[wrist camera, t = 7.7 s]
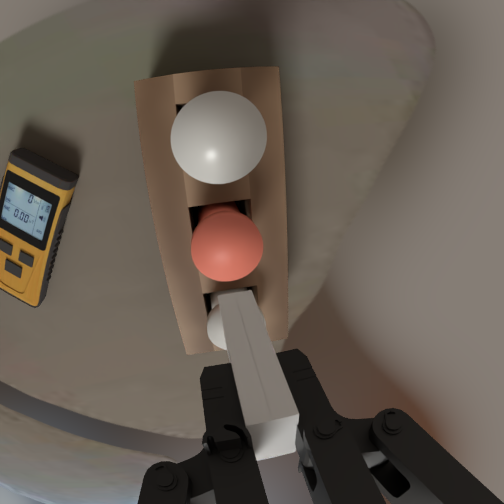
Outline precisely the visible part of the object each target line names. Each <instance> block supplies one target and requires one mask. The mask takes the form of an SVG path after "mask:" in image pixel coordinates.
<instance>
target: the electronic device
mask: <svg viewBox="0 0 504 504" xmlns="http://www.w3.org/2000/svg"><path fill="white" fill-rule="evenodd" d="M78 178H79V176H78V175H77V174H74V173H73V172H71V171H69V170H67V169H65V168H63V167H61V166H59V165H57V164H55V163H53V162H51V161H49V160H46V159H44V158H42V157H40V156H38V155H36V154H34V153H32V152H30V151H28V150H26V149H24V148H20V149H16V150H13V151H12V152H11V153H10V156H9V161H8V165H7V168H6V172H5V175H4V176H3V179H2V182H1V186H0V289H1V290H3V291H4V292H6V293H8V294H10V295H11V296H13V297H15V298H17V299H18V300H20V301H22V302H24V303H26V304H27V305H29V306H31V307H34V308H36V307H38V306H40V305H41V303H42V301H43V300H44V298H45V296H46V292H47V287H48V283H49V279H50V278H51V273H52V268H53V267H54V265H53V263H54V262H55V257H56V255H57V254H56V252H57V250H58V247H57V246H58V245H59V244H60V242H59V240H60V239H61V234H62V233H63V226H64V223H65V220H66V216H67V213H68V210H69V207H70V204H71V203H69V202H70V199H71V196H72V194H73V191H74V188H75V186H76V183H77V181H78Z"/></svg>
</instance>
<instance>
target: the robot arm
mask: <svg viewBox="0 0 504 504" xmlns="http://www.w3.org/2000/svg"><path fill="white" fill-rule="evenodd" d="M218 301H219V307H220V313H221V319H222V325H223V331H224V337H225V342H226V347H227V352H228V357H229V361H230V363H227V364H221V365H215V366H208V367H204V369H203V372H202V374H201V377H200V384H201V391H202V400H203V408H204V416H205V423H206V432H205V433H204V435H203V441H202V444H203V446H204V448H203V450H202V451H201V452H200V453H199V454H198V455H196V456H194V457H192V458H190V459H188V460H185V461H183V462H180V463H178V464H176V463H173V462H170V461H166V462H159V463H156V464H153V465H152V466H151V467H150V468H149V469H147V471H146V473H145V475H144V479H143V483H142V487H141V491H140V496H139V500H138V504H269V503H268V499H267V496H266V493H265V489H264V486H263V482H262V478H261V475H260V471H259V468H258V464H257V460H262V459H267V458H271V457H276V456H280V455H284V454H288V453H292V452H295V450H296V449H297V452H298V454H299V457H300V459H299V465H298V471H299V473H300V472H302V473H303V476H304V478H305V481H306V484H307V487H308V490H309V492H310V495H311V498H312V501H313V503H314V504H386V502H385V501H384V498H383V496H382V495H381V493H382V494H383V495H384V496H385V497H386V498H387V499H388V500H389V501H390V503H391V504H504V503H503V502H502V501H501V500H500V499H498V498H497V497H496V496H495V495H494V494H493V493H492V492H491V491H490V490H489V489H487V488H486V487H485V486H484V485H483V484H482V483H481V482H480V481H479V480H478V479H477V478H475V477H474V476H473V475H472V474H471V473H470V472H469V471H468V470H467V469H466V468H465V467H463V466H462V465H461V464H460V463H459V462H458V461H457V460H456V459H455V458H454V457H453V456H451V455H450V454H449V453H448V452H447V451H446V450H445V449H444V448H443V447H442V446H441V445H440V444H439V443H438V442H436V441H435V440H434V439H433V438H432V437H431V436H430V435H429V434H428V433H427V432H426V431H425V430H424V429H423V428H421V427H420V426H419V425H418V424H417V423H416V422H415V421H414V420H413V419H412V418H411V417H410V416H409V415H408V414H406V413H405V412H403V411H402V410H399V409H394V408H391V409H385V410H383V411H381V412H379V413H378V414H377V415H376V416H375V418H368V419H348V418H345V417H342V416H340V415H339V414H337V413H336V412H335V411H334V410H333V408H332V407H331V405H330V403H329V401H328V399H327V397H326V394H325V392H324V390H323V388H322V386H321V384H320V382H319V380H318V378H317V377H316V374H315V372H314V370H313V369H312V366H311V364H310V362H309V360H308V358H307V356H306V355H304V354H303V353H302V352H301V351H300V350H298V349H293V350H289V351H284V352H280V353H275V350H274V348H273V345H272V343H271V340H270V337H269V335H268V332H267V330H266V327H265V324H264V322H263V319H262V316H261V314H260V311H259V308H258V306H257V303H256V301H255V298H254V295H253V293H252V290H248V291H242V292H236V293H230V294H224V295H218Z"/></svg>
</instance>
